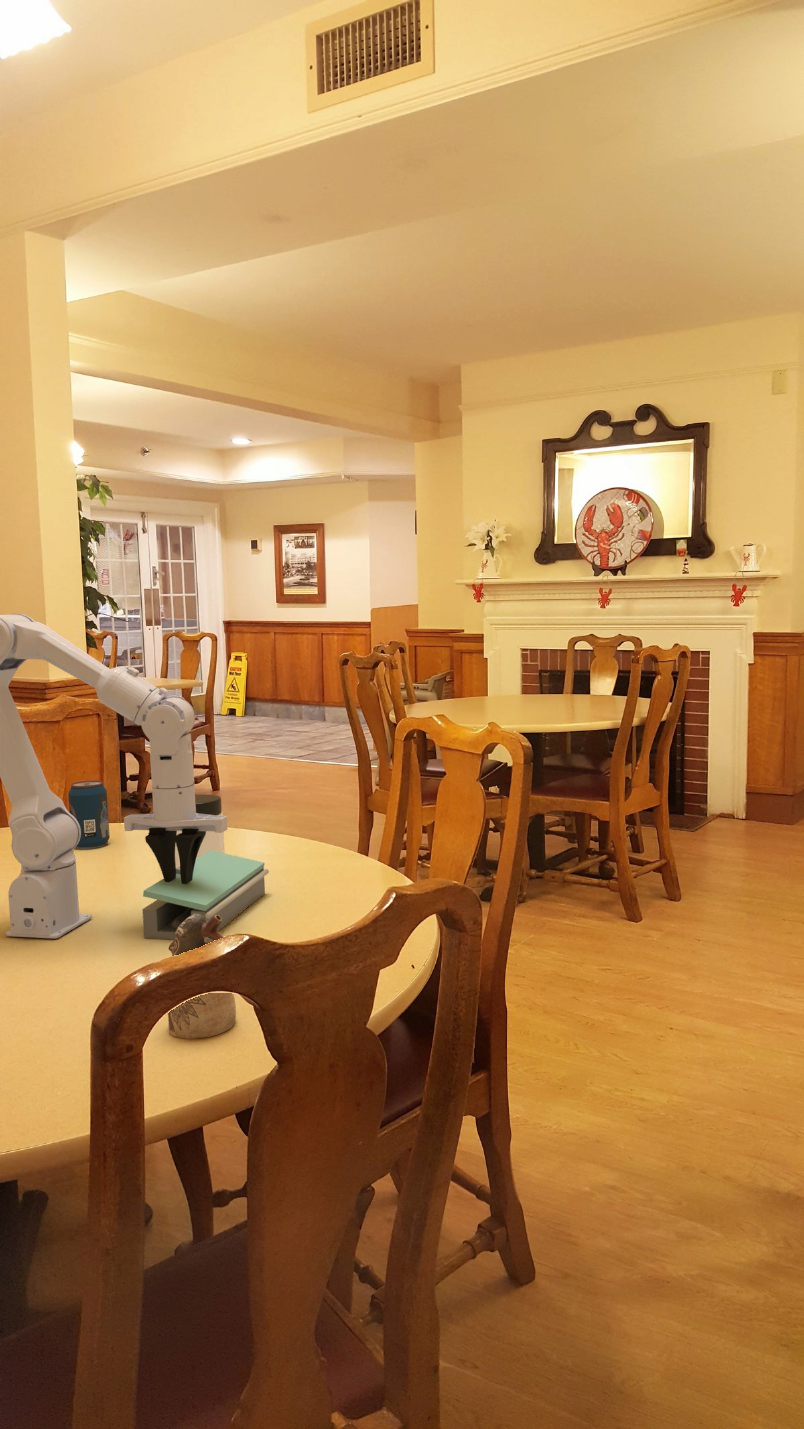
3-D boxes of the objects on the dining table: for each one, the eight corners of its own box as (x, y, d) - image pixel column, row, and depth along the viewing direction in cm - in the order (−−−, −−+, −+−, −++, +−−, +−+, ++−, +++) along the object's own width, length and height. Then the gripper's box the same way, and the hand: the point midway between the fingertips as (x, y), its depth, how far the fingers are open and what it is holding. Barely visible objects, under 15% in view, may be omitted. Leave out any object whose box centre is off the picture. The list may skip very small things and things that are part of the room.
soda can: (71, 843, 190) (67, 781, 189) (109, 839, 192) (105, 778, 191) (71, 851, 184) (67, 787, 183) (110, 847, 186) (106, 784, 185)
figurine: (188, 1008, 110) (183, 902, 108) (247, 1014, 108) (242, 906, 106) (154, 1035, 103) (148, 923, 102) (217, 1042, 101) (211, 927, 100)
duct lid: (205, 911, 131) (206, 901, 131) (142, 896, 133) (144, 886, 133) (263, 867, 153) (265, 858, 152) (209, 855, 154) (210, 846, 154)
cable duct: (212, 941, 132) (210, 912, 131) (144, 938, 134) (142, 909, 133) (269, 893, 153) (268, 868, 153) (210, 891, 155) (209, 866, 155)
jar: (180, 862, 174) (177, 794, 172) (227, 860, 174) (224, 793, 173) (170, 876, 165) (166, 804, 163) (220, 874, 165) (216, 803, 164)
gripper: (233, 780, 139) (238, 875, 141) (138, 779, 142) (144, 872, 144) (213, 789, 132) (218, 889, 134) (114, 789, 136) (120, 886, 137)
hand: (178, 881), depth 138 cm, fingers closed
